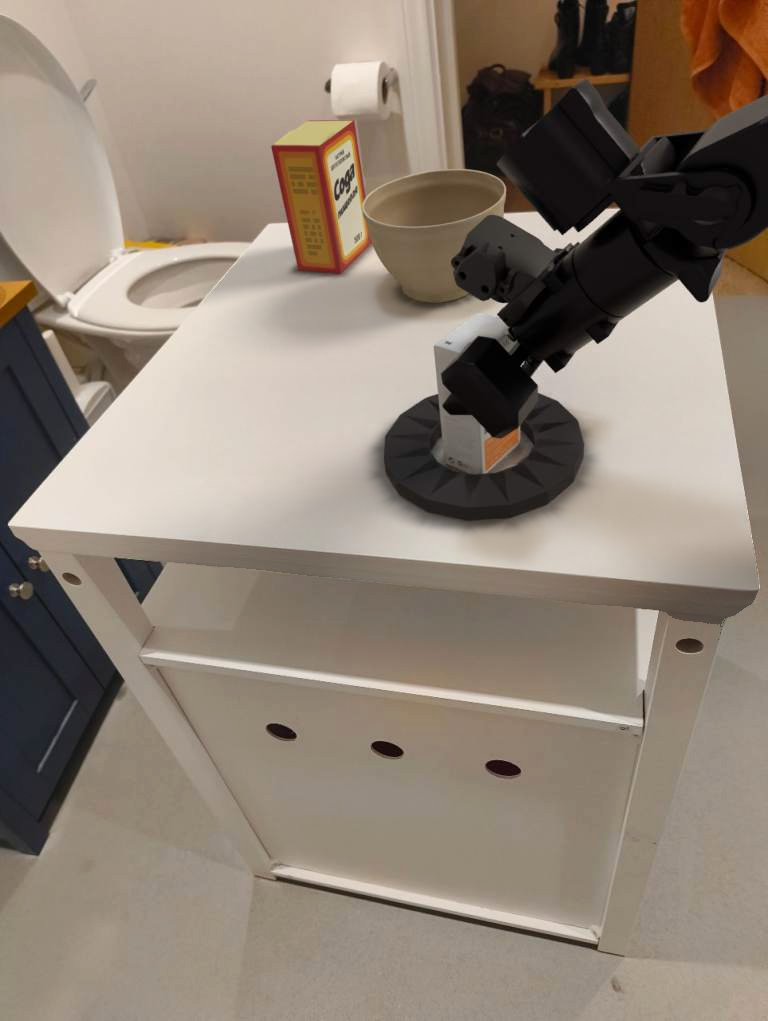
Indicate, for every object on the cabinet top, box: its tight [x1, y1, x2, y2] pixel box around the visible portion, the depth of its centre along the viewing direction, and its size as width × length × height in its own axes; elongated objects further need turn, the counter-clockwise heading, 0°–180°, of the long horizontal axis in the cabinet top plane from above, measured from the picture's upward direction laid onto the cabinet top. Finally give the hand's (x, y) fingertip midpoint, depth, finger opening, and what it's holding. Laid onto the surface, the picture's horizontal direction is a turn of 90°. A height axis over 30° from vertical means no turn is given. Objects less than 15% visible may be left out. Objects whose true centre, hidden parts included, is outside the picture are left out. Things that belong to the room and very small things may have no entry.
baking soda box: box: [270, 119, 372, 275], centre depth 95 cm, size 10×6×16 cm
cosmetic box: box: [433, 312, 521, 474], centre depth 61 cm, size 6×4×12 cm
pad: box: [383, 392, 585, 522], centre depth 65 cm, size 17×17×2 cm
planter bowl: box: [362, 168, 507, 303], centre depth 86 cm, size 16×16×11 cm
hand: (465, 387), depth 62 cm, fingers closed on cosmetic box, 6 cm apart
